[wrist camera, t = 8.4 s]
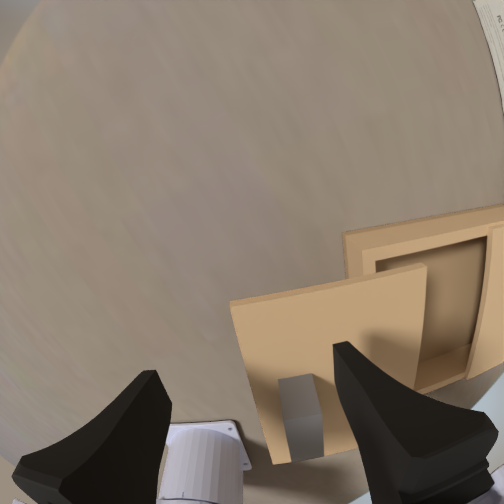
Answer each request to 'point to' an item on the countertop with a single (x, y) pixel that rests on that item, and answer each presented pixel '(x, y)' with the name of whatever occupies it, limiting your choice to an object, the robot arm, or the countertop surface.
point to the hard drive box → (494, 34)
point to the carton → (445, 286)
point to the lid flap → (325, 353)
